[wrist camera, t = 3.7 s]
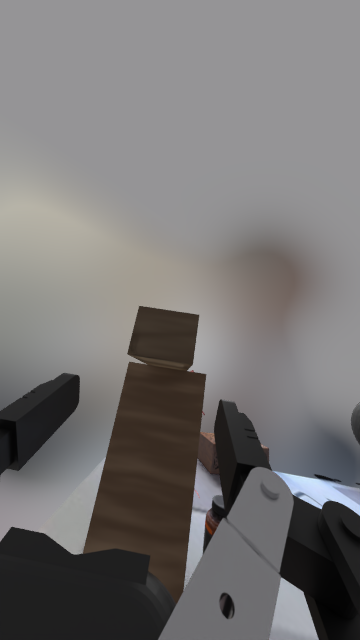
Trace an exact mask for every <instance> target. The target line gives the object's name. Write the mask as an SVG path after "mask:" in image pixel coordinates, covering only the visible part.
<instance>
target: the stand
mask: <svg viewBox="0 0 360 640" xmlns="http://www.w3.org/2000/svg"><path fill="white" fill-rule="evenodd" d="M205 380H206V374H201V373H195V372H189V371H183V370H177V369H171V368H165V367H158V366H152V365H146V364H139V363H134V362H129V364H128V369H127V373H126V377H125V381H124V385H123V389H122V393H121V397H120V402H119V406H118V410H117V414H116V418H115V422H114V426H113V431H112V436H111V439H110V443H109V447H108V451H107V455H106V460H105V464H104V468H103V472H102V476H101V480H100V484H99V489H98V493H97V497H96V501H95V505H94V509H93V513H92V518H91V522H90V526H89V530H88V534H87V538H86V542H85V547H84V551H83V554H85V553H90V552H96V551H102V550H108V549H114V548H117V549H122V550H126V551H131V552H136V553H141V554H146V555H150V562H149V568H148V571H149V572H150V573H152V574H153V575H154V576H156V577H157V578H158V579H159V580H160V581H161V582H162V583H163V585H164V586H165V587H166V589H167V590H168V591H169V592H170V594H171V596H172V597H173V599H174V601H175V603H176V604H177V603H178V601H179V599H180V597H181V595H182V593H183V590H184V580H185V571H186V561H187V552H188V542H189V533H190V523H191V514H192V504H193V495H194V485H195V476H196V466H197V456H198V447H199V437H200V428H201V418H202V409H203V399H204V390H205Z"/></svg>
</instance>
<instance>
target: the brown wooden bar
mask: <svg viewBox="0 0 360 640" xmlns="http://www.w3.org/2000/svg"><path fill="white" fill-rule="evenodd" d="M198 320H199V315H196V314H190V313H182V312H176V311H169V310H163V309H156V308H150V307H143V306H139V309H138V313H137V317H136V321H135V325H134V329H133V333H132V337H131V341H130V345H129V349H128V353H127V354H128V355H130V356H132V357H134V358H136V359H138V360H140V361H142V362H144V363H146V364H147V365H152V366H158V367H165V368H171V369H177V370H183V371H187V370H188V369H189V368H190V367H191V366H192V365H193V359H194V351H195V343H196V336H197V328H198Z"/></svg>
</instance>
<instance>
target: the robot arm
mask: <svg viewBox="0 0 360 640" xmlns="http://www.w3.org/2000/svg"><path fill="white" fill-rule="evenodd" d="M79 385H80V378H79V376H78V375H74V374H68V373H63V374H61V375H60V376H58V377H57V378H55V379H54V380H51V381H49V382H46V383H44V384H41V385H39V386H38V387H36V388H34V389H33V390H31V392H29V393H27V394H25V395H24V396H23V397H22V398H20V399H18V400H16V401H15V402H13V403H12V404H11V405H9V406H7V407H6V408H4V409H3V410H1V411H0V475H1V473H3V472H4V471H5V470H6V469H12V470H17V471H19V470H20V469H21V468H22V467H23V466H24V465H25V464H26V462H27V461H28V460H29V459H30V458H31V457H32V456H33V455H34V454H35V453H36V452H37V451H38V450H39V449H40V447H41V446H42V445H43V444H44V443H45V442H46V441H47V440H48V439H49V438H50V437H51V436H52V435H53V434H54V432H55V431H56V430H57V429H58V428H59V427H60V426H61V425H62V424H63V423H64V422H65V421H66V419H67V418H68V417H69V416H70V415H71V414H72V413H73V412H74V411H75V409H76V408H77V405H78V403H79V387H80V386H79ZM351 426H352V430H353V433H354V435H355V438H356V440H357V441H358V443H359V444H360V402H359V403H358V404H357V406H356V407H355V408H354V410H353V413H352V417H351ZM214 438H215V445H216V452H217V459H218V466H219V473H220V480H221V487H222V495H223V502H224V509H225V512H229V514H228V516H227V518H225V517H224V518H223V519H222V520H221V522H220V524H219V526H218V527H217V529H216V531H215V533H214V535H213V537H212V539H211V541H210V542H209V544H208V546H207V548H206V550H205V552H204V554H203V556H202V558H201V559H200V561H199V563H198V565H197V567H196V569H195V571H194V573H193V575H192V576H191V578H190V580H189V582H188V584H187V586H186V588H185V590H184V592H183V593H182V595H181V597H180V599H179V601H178V603H177V604H176V603H175V601H174V599H173V597H172V596H171V594H170V592H169V591H168V590H167V589H166V587H165V586H164V585H163V583H162V582H161V581H160V580H159V579H158V578H157V577H156V576H154V575H153V574H152V573H150V572H149V571H148V568H149V562H150V555H146V554H141V553H136V552H131V551H126V550H122V549H117V548H114V549H108V550H102V551H96V552H90V553H85V554H79V555H74V554H71V553H70V552H68V551H67V550H66V549H64V548H63V547H62V546H60V545H59V544H58V543H56V542H55V541H54V540H53V539H51V538H50V537H49V536H47V535H46V534H44V533H39V532H34V531H29V530H24V529H20V528H15V527H11V529H10V530H9V531H8V532H7V534H6V535H5V536H4V538H3V539H2V540H1V542H0V640H269V636H270V631H271V626H272V621H273V616H274V611H275V606H276V601H277V596H278V591H279V585H280V579H281V577H282V578H284V579H285V580H287V581H288V582H290V583H291V584H293V585H294V586H296V587H297V588H299V589H300V590H302V591H303V592H304V595H305V598H306V601H307V604H308V607H309V611H310V614H311V617H312V620H313V623H314V626H315V629H316V632H317V635H318V638H319V640H360V516H359V515H358V514H356V513H355V512H354V511H353V510H351V509H350V508H348V507H346V506H345V505H343V504H341V503H338V502H335V501H327V502H325V503H324V505H323V507H322V510H321V509H319V508H317V507H315V506H313V505H311V504H309V503H307V502H305V501H303V500H301V499H299V498H298V497H296V496H294V495H293V494H292V493H291V491H290V489H289V487H288V486H287V484H286V483H285V482H284V481H283V479H282V478H280V477H279V476H278V475H277V474H276V473H274V472H273V471H272V469H271V467H270V464H269V462H268V460H267V457H266V455H265V453H264V450H263V448H262V446H261V443H260V441H259V440H258V436H257V434H256V432H255V429H254V427H253V425H252V422H251V421H250V420H249V419H248V418H247V416H246V415H245V414H244V413H239V412H238V409H237V407H236V404H235V402H233V401H227V400H220V401H219V406H218V410H217V415H216V420H215V426H214Z"/></svg>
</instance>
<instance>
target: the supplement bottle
mask: <svg viewBox="0 0 360 640" xmlns="http://www.w3.org/2000/svg"><path fill="white" fill-rule="evenodd" d="M228 514H229V512H225V509H224V502H223V496H222V495H216V496H214V497H213V501H212V508H211V509H210V510H209V511H208V512H207V514H206V521H205V533H204V545H203V554H204V552H205V550H206V548H207V546H208V544H209V542H210V541H211V539H212V537H213V535H214V533H215V531H216V529H217V527H218V526H219V524H220V522H221V520H222V519H223V518H224V517H225V518H227V516H228Z"/></svg>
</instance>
